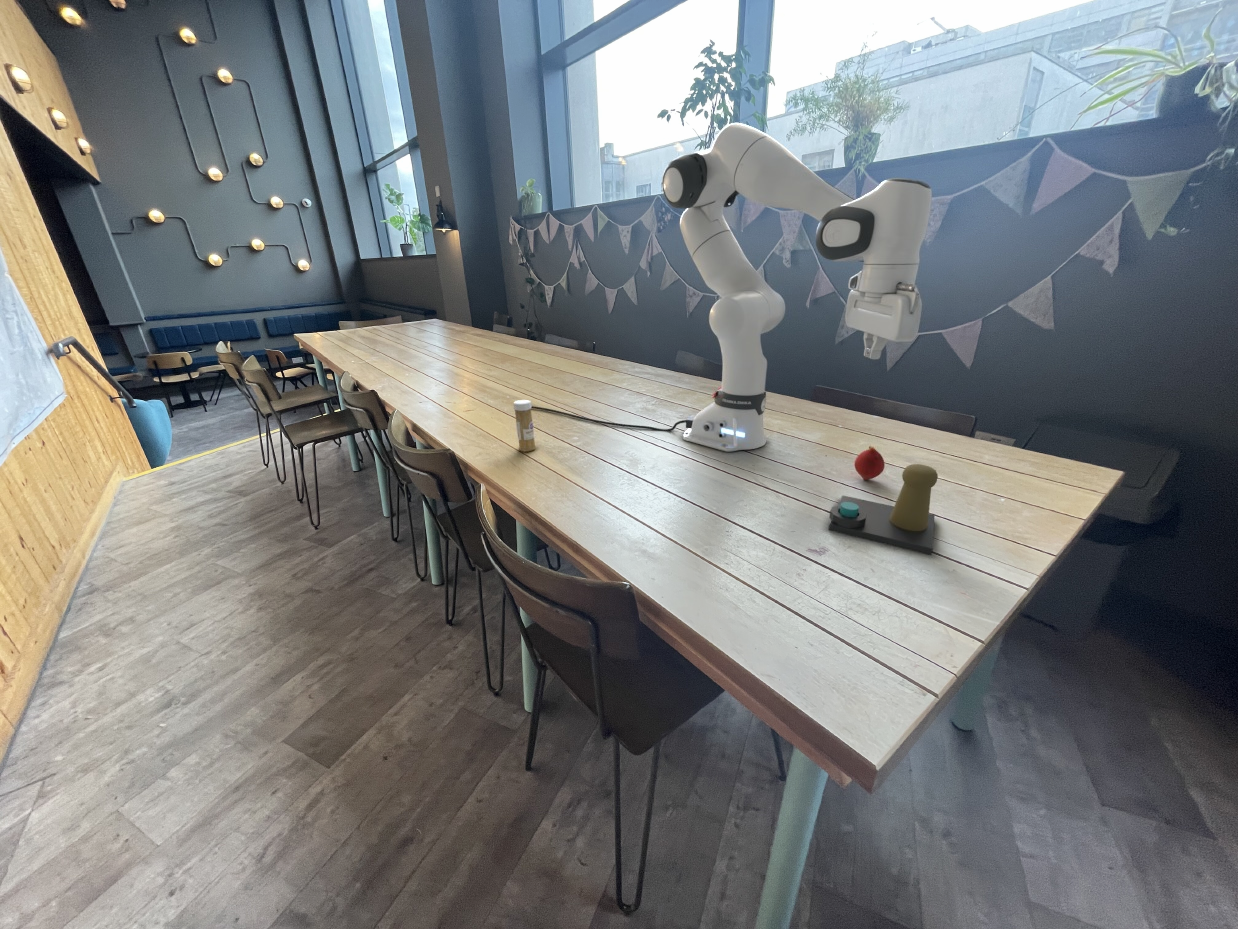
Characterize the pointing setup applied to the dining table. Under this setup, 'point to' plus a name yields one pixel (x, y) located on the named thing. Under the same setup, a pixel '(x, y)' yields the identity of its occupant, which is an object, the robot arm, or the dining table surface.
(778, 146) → the robot arm
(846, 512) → the button
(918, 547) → the scale
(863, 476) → the onion
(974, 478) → the dining table surface
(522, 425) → the sprinkles bottle
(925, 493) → the cork
